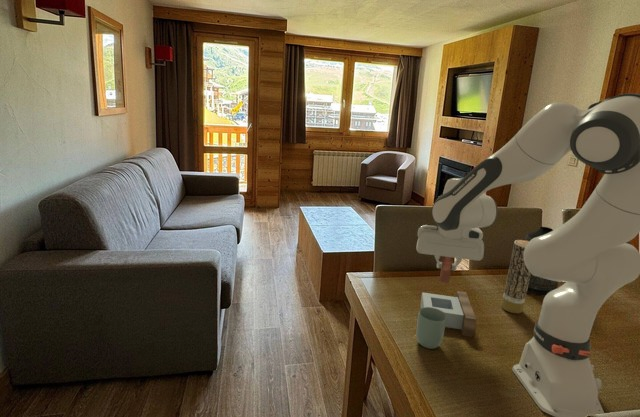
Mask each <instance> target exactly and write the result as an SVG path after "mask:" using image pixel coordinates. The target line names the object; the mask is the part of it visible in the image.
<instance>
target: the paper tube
mask: <svg viewBox="0 0 640 417" xmlns="http://www.w3.org/2000/svg"><path fill="white" fill-rule="evenodd" d="M528 243H529V241H526V239H525V240H524V239H516V240H514V243H513V247H512V252H511V256H510V257H511V258H510V263H509V267H508V272H507V276H506V282H505V286H504V291H503V296H502V301H501V308H502V309H503V310H504V311H506V312H508V313H510V314H522V312H523V310H524V306H525V303H526V302H525V301H526V297H527V293H528V292H527V289H528V284H529V280H530V275H531V273H530V272H529V270H528V269H527V267H526V265H525V263H524V250H525V247H526V245H527V244H528Z"/></svg>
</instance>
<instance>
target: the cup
mask: <svg viewBox="0 0 640 417" xmlns="http://www.w3.org/2000/svg"><path fill="white" fill-rule="evenodd" d="M417 315H418V316H417V322H416V329H415V330H416V333H415V335H416V340H417V342H418V343H419V345H421V346H422V347H424V348H425V349H430V350H433V349H437V348H439V347H440V345H441V344H442V342H443V340H444V335H445V330H446V327H445V326H446V319H447V318H446V314H445V313H444V312H442V311H441V310H438V309H436V308H431V307H424V308H422V309H421V308H420V310H418V313H417Z"/></svg>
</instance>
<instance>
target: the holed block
mask: <svg viewBox="0 0 640 417" xmlns="http://www.w3.org/2000/svg"><path fill="white" fill-rule="evenodd" d="M419 306H420V309H422V308H424V307H431V308H436V309H438V310H441V311H442V312H444V313H445V314H446V318H447V319H446V326H445V328H449V329H450V328H451V329H456V330H461V328H462V322H463V316H464V315H463V312H462V309H461V305H460V302H459V299H458V297H456V296H450V295H444V294H437V293H436V294H435V293H429V292H422V293H421V297H420V305H419Z"/></svg>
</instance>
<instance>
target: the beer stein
mask: <svg viewBox="0 0 640 417" xmlns="http://www.w3.org/2000/svg"><path fill="white" fill-rule="evenodd" d="M553 230H554V229H553V228H551V227H547V226H540V227H539V228H538V229H537V230H534V231H532V232H529V233H527V234H526V235H525V241H530V240H531V239H533V238H535V237H539V236H542V235H545V234H547V233H549V232H551V231H553ZM557 288H559V281H552V280H548V279H544V278H540V277H537V276H534V275H532V274H531V275H530V280H529V284H528V289H527V293H529V294H533V295H538V296H546V295H547V294H548V293H549V292H550V291H552V290H554V289H557Z"/></svg>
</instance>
